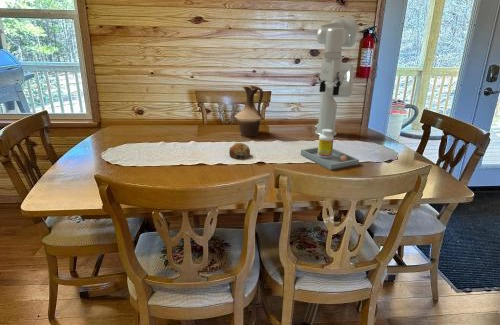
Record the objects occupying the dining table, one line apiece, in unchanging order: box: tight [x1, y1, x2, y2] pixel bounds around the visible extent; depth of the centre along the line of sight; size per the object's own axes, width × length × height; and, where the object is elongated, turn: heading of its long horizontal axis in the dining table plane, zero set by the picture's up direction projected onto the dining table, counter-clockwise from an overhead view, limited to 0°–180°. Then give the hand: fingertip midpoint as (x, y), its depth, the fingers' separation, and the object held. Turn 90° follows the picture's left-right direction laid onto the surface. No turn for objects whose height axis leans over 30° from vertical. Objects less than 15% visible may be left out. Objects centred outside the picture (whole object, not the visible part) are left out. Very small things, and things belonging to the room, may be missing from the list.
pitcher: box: [234, 84, 265, 137], centre depth 193 cm, size 18×17×28 cm
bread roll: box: [228, 142, 251, 160], centre depth 162 cm, size 10×10×8 cm
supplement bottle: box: [317, 129, 335, 158], centre depth 160 cm, size 7×7×13 cm
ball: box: [340, 155, 347, 162], centre depth 156 cm, size 3×3×3 cm
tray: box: [300, 146, 360, 171], centre depth 160 cm, size 22×16×2 cm
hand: (328, 93), depth 165 cm, fingers open, 9 cm apart
